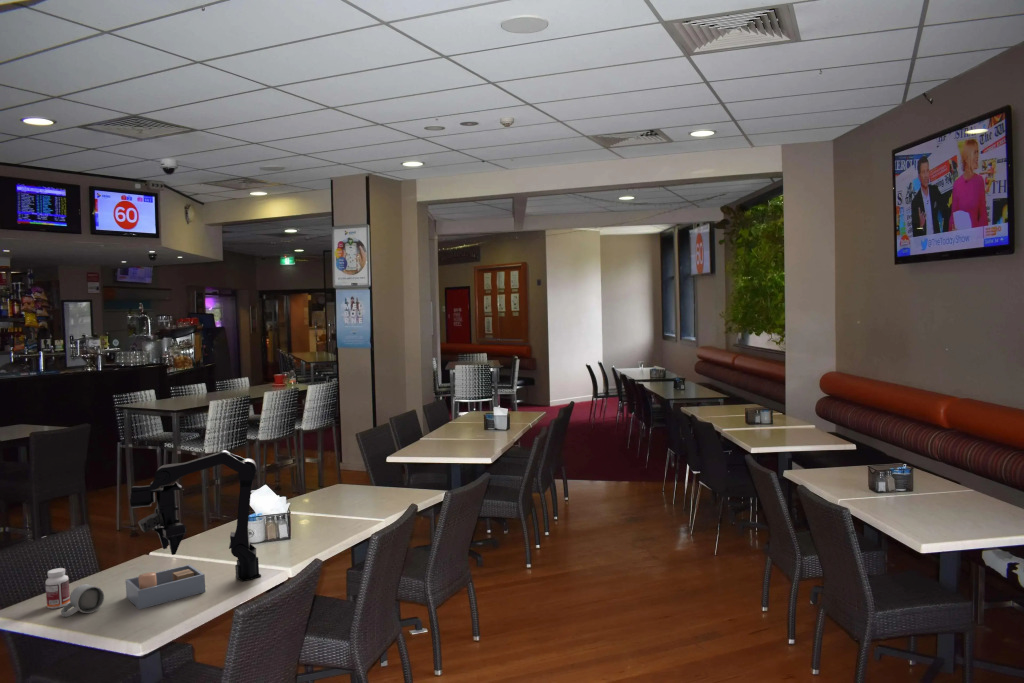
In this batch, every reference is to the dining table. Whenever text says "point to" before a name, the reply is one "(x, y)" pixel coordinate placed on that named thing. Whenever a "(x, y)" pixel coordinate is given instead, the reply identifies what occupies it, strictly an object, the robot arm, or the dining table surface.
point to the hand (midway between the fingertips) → (169, 551)
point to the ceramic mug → (84, 600)
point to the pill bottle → (57, 589)
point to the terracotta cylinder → (147, 580)
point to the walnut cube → (182, 574)
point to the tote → (165, 587)
